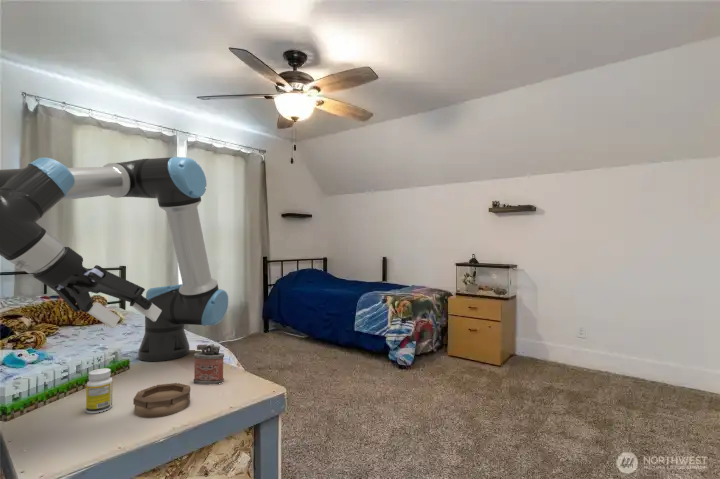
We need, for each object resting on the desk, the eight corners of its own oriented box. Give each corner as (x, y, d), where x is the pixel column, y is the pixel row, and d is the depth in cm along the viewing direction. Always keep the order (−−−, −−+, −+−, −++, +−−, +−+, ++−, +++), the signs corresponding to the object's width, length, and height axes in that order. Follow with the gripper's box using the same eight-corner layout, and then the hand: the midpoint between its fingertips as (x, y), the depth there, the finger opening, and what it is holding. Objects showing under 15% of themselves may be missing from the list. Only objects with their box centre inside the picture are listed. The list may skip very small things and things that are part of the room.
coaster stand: (140, 400, 87) (140, 386, 87) (191, 394, 90) (192, 381, 90) (128, 420, 76) (129, 405, 76) (187, 413, 80) (187, 398, 80)
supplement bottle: (94, 405, 84) (95, 367, 84) (116, 404, 84) (117, 367, 84) (80, 414, 79) (81, 374, 79) (104, 413, 79) (104, 374, 80)
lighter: (226, 380, 100) (226, 343, 100) (220, 385, 96) (220, 346, 97) (197, 379, 101) (198, 342, 101) (190, 384, 97) (191, 345, 98)
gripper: (-3, 285, 72) (90, 339, 85) (77, 263, 63) (168, 328, 76) (25, 256, 77) (109, 312, 90) (104, 232, 68) (184, 298, 81)
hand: (136, 319), depth 83 cm, fingers open, 13 cm apart
